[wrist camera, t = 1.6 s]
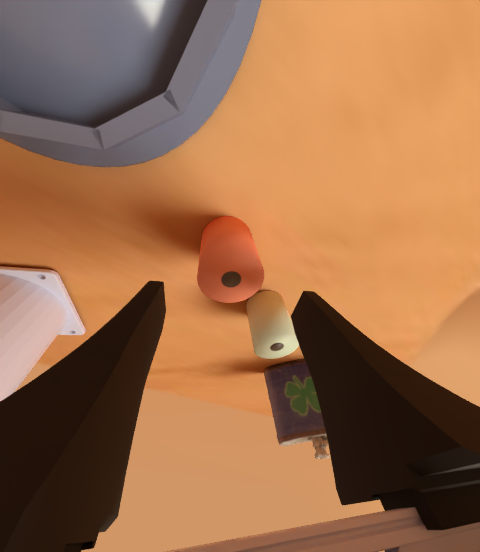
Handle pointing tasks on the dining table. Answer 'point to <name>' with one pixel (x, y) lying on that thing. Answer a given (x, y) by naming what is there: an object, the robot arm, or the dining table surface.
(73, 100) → the round tray
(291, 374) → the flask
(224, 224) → the vermilion bead
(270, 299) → the sage bead
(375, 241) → the dining table surface
